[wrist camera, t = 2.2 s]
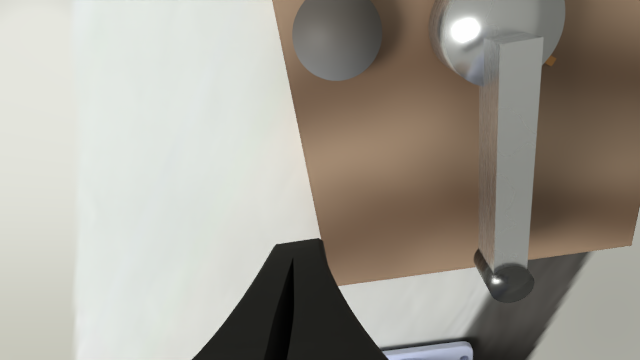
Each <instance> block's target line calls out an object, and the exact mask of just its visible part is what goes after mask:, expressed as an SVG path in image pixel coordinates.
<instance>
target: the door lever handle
mask: <svg viewBox="0 0 640 360" xmlns="http://www.w3.org/2000/svg"><path fill="white" fill-rule="evenodd" d="M564 22H565V1H564V0H435V2H434V4H433V7H432V9H431V13H430V17H429V29H428V32H429V39H430V43H431V46H432V49H433V51H434V53H435V54H436V56H437V57H438V59H439V60H440V61H441V62H442V63H443V64H444V65H445V66H447V67H448V68H450V69H451V70H453V71H454V72H456V73H457V74H458V75H460V76H461V77H463V78H464V79H466V80H467V81H469V82H471V83H473V84H476V85H479V235H478V249H477V251H476V252H475V254H474V259H473V260H474V264H475V266H476V268H477V270H478V271H479V273H480V275H481V277H482V279H483V280H484V282H485V284H486V286H487V288H488V289H489V291H490V293H491V295H492V296H493V298H494V299H496V300H497V301H500V302H504V303H511V302H516V301H519V300H521V299H523V298H525V297H526V296H527V295H528V294H529V293H530V292H531V291H532V289H533V286H534V279H533V277H532V275H531V274H530V272H529V271H528V269H527V261H528V247H529V234H530V220H531V206H532V192H533V178H534V165H535V151H536V137H537V123H538V110H539V96H540V82H541V68H542V65H543V64H544V63H545V62H546V60H547V59H548V58H549V57H550V55H551V54H552V52H553V51H554V49H555V47H556V46H557V44H558V42H559V39H560V37H561V34H562V31H563V27H564Z"/></svg>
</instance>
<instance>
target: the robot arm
mask: <svg viewBox="0 0 640 360" xmlns="http://www.w3.org/2000/svg"><path fill="white" fill-rule="evenodd" d="M192 360H473V349H472V347H471V344H470V343H469V342H466V341H460V342H452V343H444V344H436V345H428V346H420V347H412V348H405V349H397V350H389V351H381V350H380V349H379V348H378V346H377V345H376V344H375V343H374V341H373V340H372V339H371V337H370V336H369V335H368V333H367V332H366V331H365V329H364V328H363V327H362V325H361V324H360V322H359V321H358V319H357V318H356V316H355V315H354V313H353V312H352V310H351V309H350V307H349V305H348V304H347V302H346V300H345V299H344V297H343V295H342V293H341V291H340V290H339V288H338V286H337V284H336V281H335V279H334V277H333V275H332V273H331V271H330V268H329V266H328V262H327V257H326V252H325V247H324V243H323V241H322V240H321V239H319V238H317V239H310V240H303V241H296V242H289V243H283V244H276V245H275V247H274V248H273V249H272V251H271V253H270V254H269V256H268V258H267V260H266V261H265V263H264V265H263V266H262V268H261V270H260V271H259V273H258V275H257V276H256V278H255V279H254V281H253V282H252V284H251V285H250V287H249V289H248V290H247V292H246V293H245V295H244V296H243V298H242V299H241V300H240V302H239V303H238V305H237V306H236V307H235V309H234V310H233V311H232V313H231V314H230V315H229V317H228V318H227V319H226V321H225V322H224V323H223V325H222V326H221V327H220V328H219V330H218V331H217V332H216V333H215V335H214V336H213V337H212V338H211V339H210V340H209V342H208V343H207V344H206V345H205V346H204V347H203V348H202V350H201V351H200V352H199V353H198V354H197V355H196V356H195V357H194V358H193V359H192Z"/></svg>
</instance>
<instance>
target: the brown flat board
mask: <svg viewBox="0 0 640 360" xmlns="http://www.w3.org/2000/svg"><path fill="white" fill-rule="evenodd" d="M272 1H273V6H274V11H275V16H276V21H277V26H278V31H279V36H280V40H281V45H282V50H283V55H284V60H285V65H286V70H287V74H288V79H289V84H290V89H291V94H292V99H293V104H294V109H295V113H296V118H297V123H298V128H299V133H300V138H301V143H302V147H303V152H304V157H305V162H306V167H307V172H308V177H309V181H310V186H311V191H312V196H313V201H314V206H315V211H316V216H317V220H318V225H319V230H320V235H321V240H322V241H323V243H324V247H325V252H326V257H327V262H328V266H329V268H330V271H331V273H332V275H333V277H334V279H335V281H336V284H337V286H342V285H349V284H356V283H363V282H371V281H378V280H385V279H392V278H400V277H407V276H414V275H421V274H429V273H436V272H443V271H450V270H458V269H465V268H472V267H476V266H475V264H474V260H473V259H474V254H475V252H476V251H477V249H478V235H479V85H476V84H473V83H471V82H469V81H467V80H466V79H464V78H463V77H461V76H460V75H458V74H457V73H456V72H454V71H453V70H451V69H450V68H448V67H447V66H445V65H444V64H443V63H442V62H441V61H440V60H439V59H438V57H437V56H436V54H435V53H434V51H433V49H432V46H431V43H430V39H429V32H428V29H429V17H430V13H431V9H432V7H433V4H434V2H435V0H272ZM564 1H565V22H564V27H563V31H562V34H561V37H560V39H559V42H558V44H557V46H556V47H555V49H554V51H553V52H552V54H551V55H550V57H549V58H548V59H547V60H546V62H545V63H544V64H543V65H542V68H541V82H540V96H539V110H538V123H537V137H536V151H535V165H534V178H533V192H532V206H531V220H530V234H529V247H528V260H530V259H537V258H545V257H552V256H559V255H566V254H574V253H581V252H588V251H595V250H602V249H610V248H617V247H624V246H631V245H632V240H633V235H634V231H635V226H636V221H637V217H638V212H639V207H640V0H564Z"/></svg>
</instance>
